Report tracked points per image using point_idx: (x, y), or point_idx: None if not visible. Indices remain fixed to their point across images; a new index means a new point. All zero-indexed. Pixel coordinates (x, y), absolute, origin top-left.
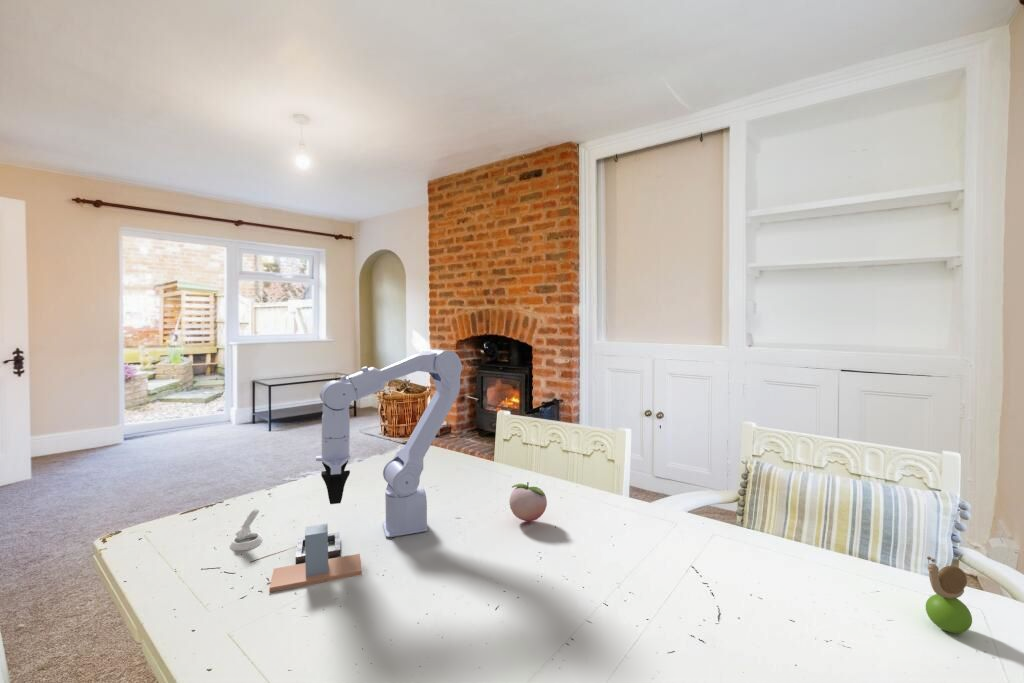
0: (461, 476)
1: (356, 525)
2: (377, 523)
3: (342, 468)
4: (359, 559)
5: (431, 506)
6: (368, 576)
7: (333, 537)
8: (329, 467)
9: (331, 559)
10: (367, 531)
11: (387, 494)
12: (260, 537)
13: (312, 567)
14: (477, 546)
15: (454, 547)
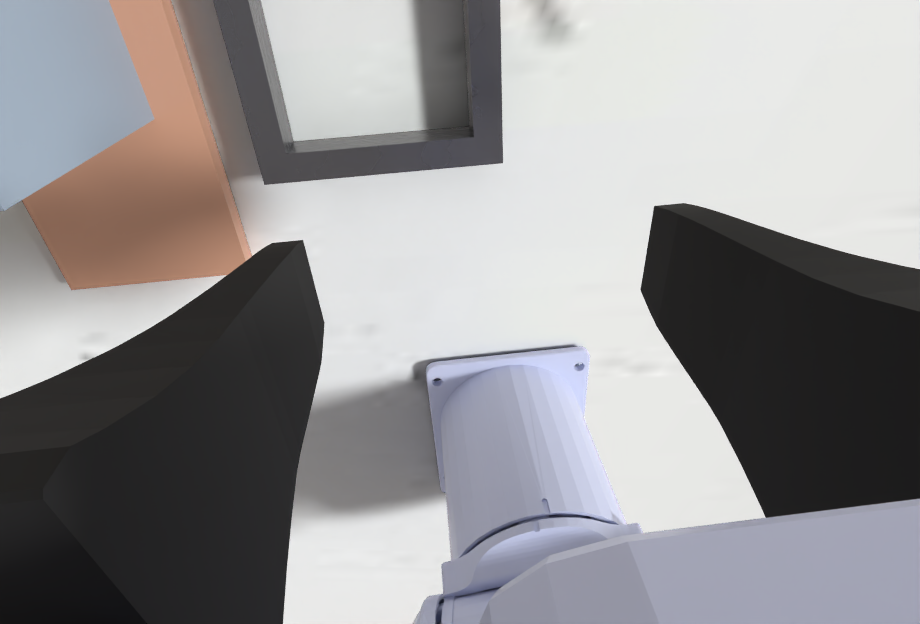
0: None
1: (634, 228)
2: (608, 322)
3: (777, 499)
4: (186, 274)
5: (671, 497)
6: (69, 305)
7: (471, 124)
8: (876, 383)
9: (192, 134)
10: (535, 283)
11: (508, 532)
12: None
13: None
14: (290, 589)
15: (294, 544)
